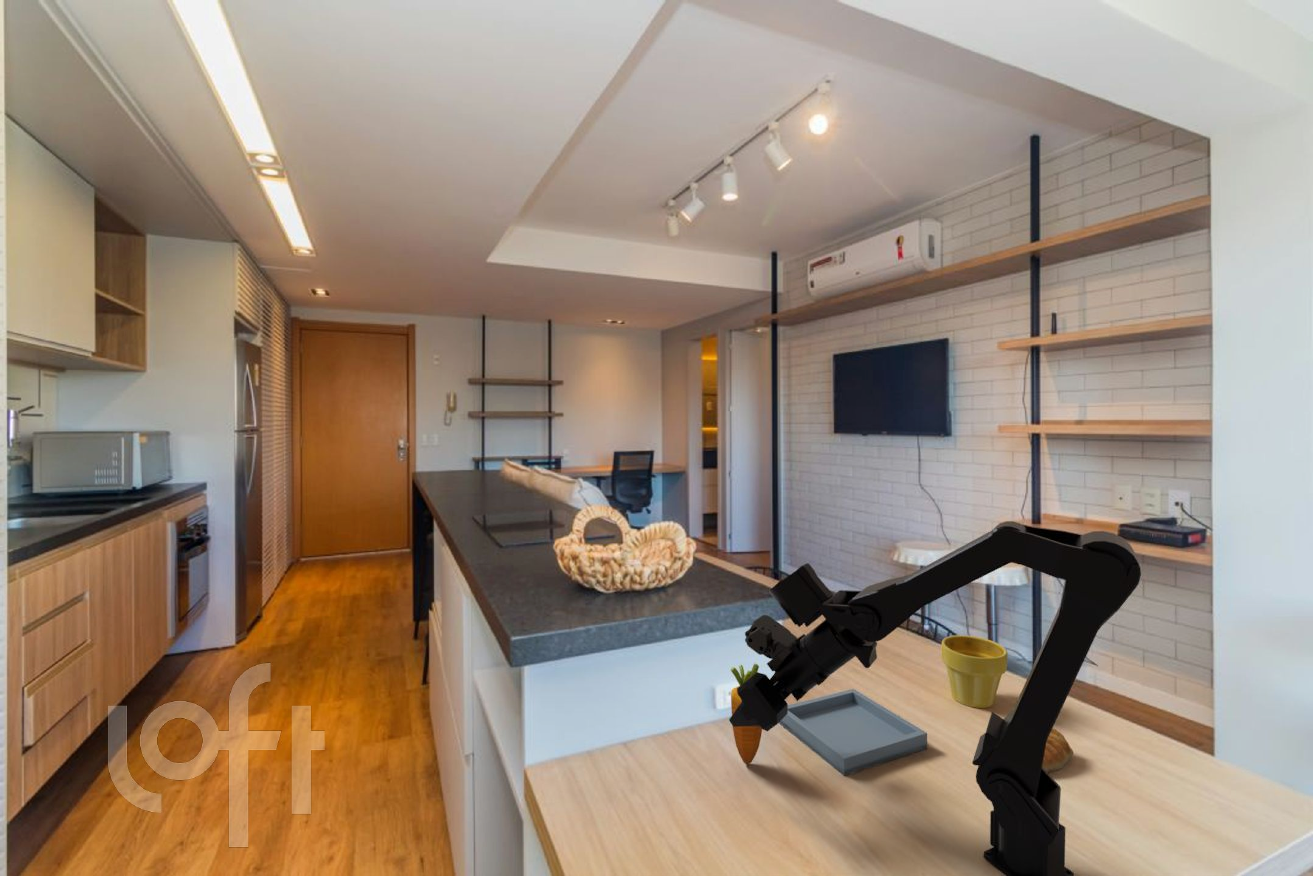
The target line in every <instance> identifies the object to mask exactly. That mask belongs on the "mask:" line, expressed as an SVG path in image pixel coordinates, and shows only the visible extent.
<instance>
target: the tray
mask: <svg viewBox="0 0 1313 876" xmlns="http://www.w3.org/2000/svg"><path fill="white" fill-rule="evenodd" d="M779 724H780V726H782V727H783V728H784V729H786V730H787V731H788V732H789V733H791V734H792V735H793V736H794V737H796V738H797V739H798V740H799V741H801V742H802V743H803V744H804V745H806V746H807V747H808V748H809V749H811V751H813V752H814V753H815V754H817V755H818V756H819V757H820V758H822V760H824V761H825V762H827V764H829V765H830V766H831V767H832V768H833V769H835V770H837V771H838V772H839V773H840V774H841V775H842V776H844V777H845V776H847V775H850V774H854V773H858V772H860V771H863V770H866V769H870V768H872V767H876V766H878V765H879V766H880V765H881V764H884V763H888V762H891V761H893V760H894V761H895V760H897V759H900V758H904V757H906V756H910V755H912V754H916V753H919V752H922V751H926V750H928V733H927V731H924V730H923V729H921V728H920V727H918V726H916V725H915V724H913V723H911V722H910V721H908V720H906V719H904V718H903V717H901V716H900V715H897V714H896V713H894V712H893V711H892V710H889V709H888V708H886V707H884V706H883V705H881V704H880V703H878V702H876V701H875V700H873V699H871V698H869V697H868V696H866V695H864V694H863V693H861V692H859V691H858V690H856V689H855V688H852V689H851V688H850V689H847V690H843V691H839V692H836V693H832V694H828V695H823V696H819V697H816V698H815V697H814V698H812V699H808V700H803V701H799V702H795V703H791V704H788V714H787V715H786V716H785V717H784V718H783V719H782V720H781V721H780V722H779V723H778V725H779Z"/></svg>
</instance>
